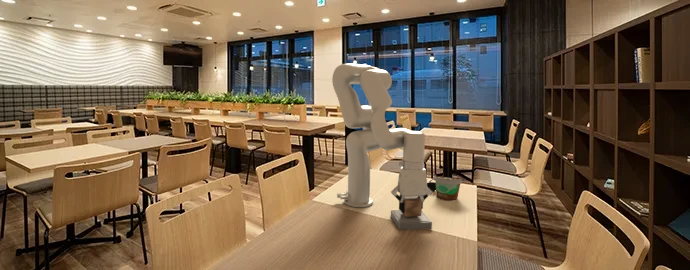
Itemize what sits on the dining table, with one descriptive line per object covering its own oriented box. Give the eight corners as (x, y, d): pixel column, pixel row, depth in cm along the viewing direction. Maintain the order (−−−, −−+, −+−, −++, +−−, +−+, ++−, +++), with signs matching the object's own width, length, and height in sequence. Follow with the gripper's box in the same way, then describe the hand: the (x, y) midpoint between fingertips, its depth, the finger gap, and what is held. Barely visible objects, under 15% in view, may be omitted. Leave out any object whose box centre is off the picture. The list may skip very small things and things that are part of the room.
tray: (399, 230, 117) (399, 223, 116) (390, 216, 129) (390, 209, 128) (431, 228, 119) (432, 221, 118) (419, 215, 130) (420, 208, 130)
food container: (430, 198, 148) (431, 177, 147) (433, 194, 154) (434, 174, 152) (458, 204, 143) (460, 181, 141) (460, 199, 148) (462, 178, 146)
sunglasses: (409, 191, 159) (409, 181, 158) (406, 183, 175) (406, 174, 174) (438, 192, 158) (438, 182, 157) (432, 184, 174) (432, 175, 173)
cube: (405, 216, 120) (406, 201, 119) (400, 210, 126) (401, 195, 125) (421, 216, 120) (421, 200, 119) (415, 209, 126) (416, 194, 125)
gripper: (392, 168, 115) (391, 216, 118) (439, 167, 117) (436, 214, 120) (387, 162, 122) (385, 208, 125) (431, 161, 125) (428, 206, 128)
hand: (410, 210), depth 123 cm, fingers closed on cube, 6 cm apart
